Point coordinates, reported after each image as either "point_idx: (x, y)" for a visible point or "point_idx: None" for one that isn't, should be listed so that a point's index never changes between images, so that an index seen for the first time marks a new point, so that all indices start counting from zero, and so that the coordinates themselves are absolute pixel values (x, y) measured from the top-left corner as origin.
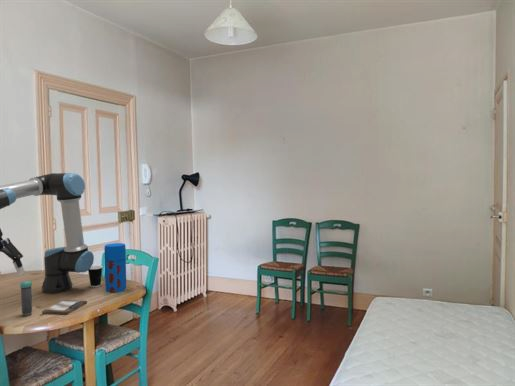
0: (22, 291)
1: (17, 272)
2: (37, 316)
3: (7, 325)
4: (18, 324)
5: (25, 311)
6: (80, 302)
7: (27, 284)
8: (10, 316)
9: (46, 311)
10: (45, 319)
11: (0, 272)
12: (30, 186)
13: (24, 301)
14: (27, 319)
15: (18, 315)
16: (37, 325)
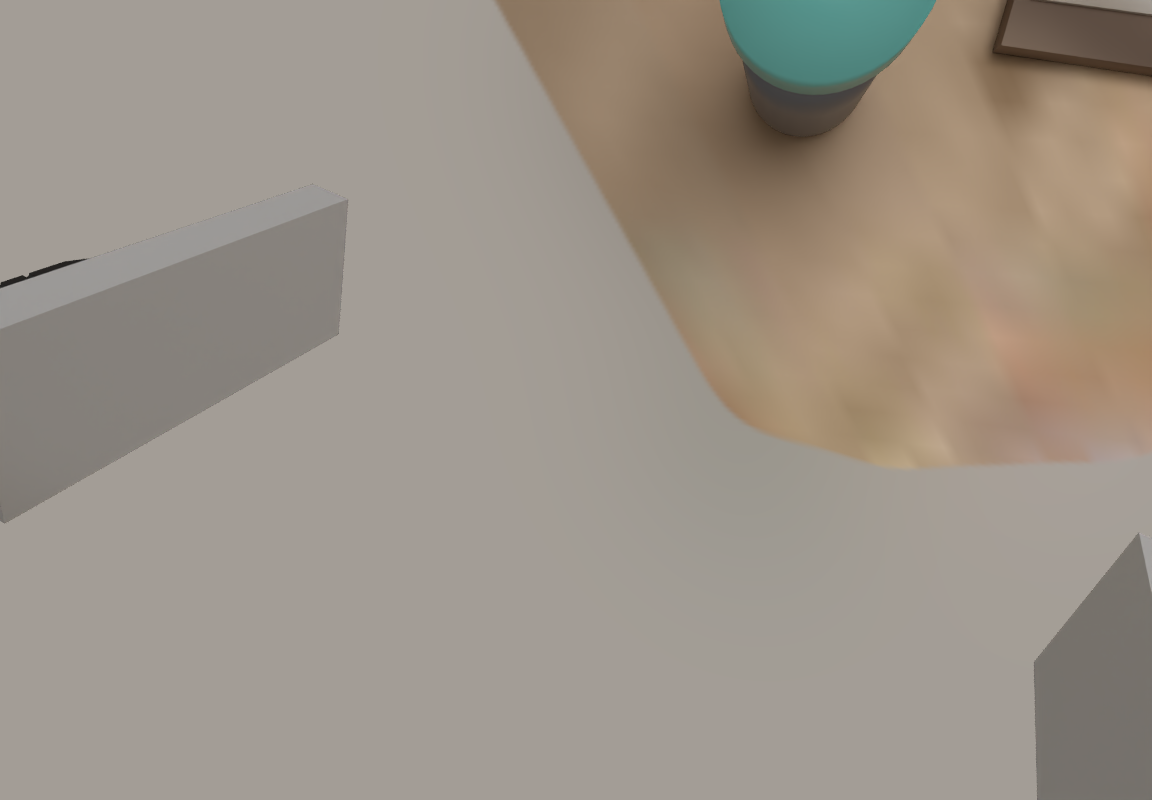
0: (789, 94)
1: (1044, 739)
2: (968, 147)
3: (749, 406)
4: (856, 391)
5: (817, 133)
6: None
7: (897, 52)
8: (632, 130)
9: (1068, 54)
10: (1122, 262)
11: (324, 210)
12: None
13: (813, 117)
14: (886, 244)
15: (708, 100)
16: (1098, 447)
